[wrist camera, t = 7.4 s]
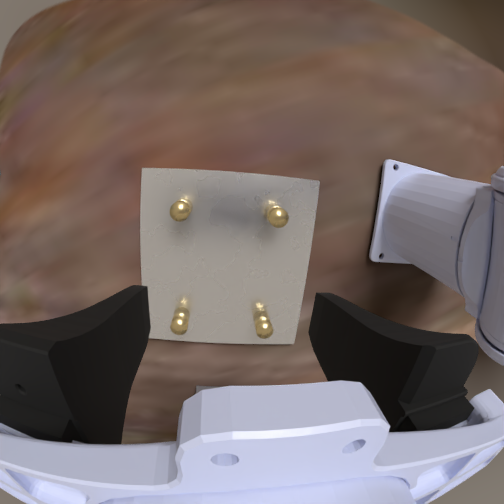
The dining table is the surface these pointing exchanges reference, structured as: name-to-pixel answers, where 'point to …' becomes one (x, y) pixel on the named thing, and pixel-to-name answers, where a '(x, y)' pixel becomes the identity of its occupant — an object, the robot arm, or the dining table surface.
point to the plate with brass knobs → (225, 254)
